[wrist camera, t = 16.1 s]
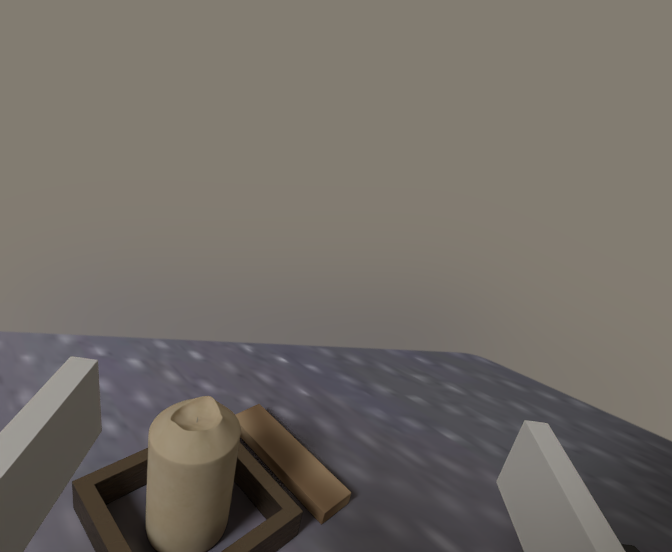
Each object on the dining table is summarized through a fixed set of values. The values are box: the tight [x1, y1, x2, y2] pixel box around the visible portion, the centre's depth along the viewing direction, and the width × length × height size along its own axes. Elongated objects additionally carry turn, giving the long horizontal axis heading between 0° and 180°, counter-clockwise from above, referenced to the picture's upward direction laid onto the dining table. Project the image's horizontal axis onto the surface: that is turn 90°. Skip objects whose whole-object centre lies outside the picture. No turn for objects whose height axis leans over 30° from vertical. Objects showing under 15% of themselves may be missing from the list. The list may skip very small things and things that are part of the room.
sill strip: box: [235, 404, 351, 525], centre depth 37 cm, size 3×12×1 cm, turn 46°
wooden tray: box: [72, 442, 303, 552], centre depth 31 cm, size 11×11×2 cm
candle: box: [146, 396, 241, 552], centre depth 29 cm, size 6×6×10 cm
